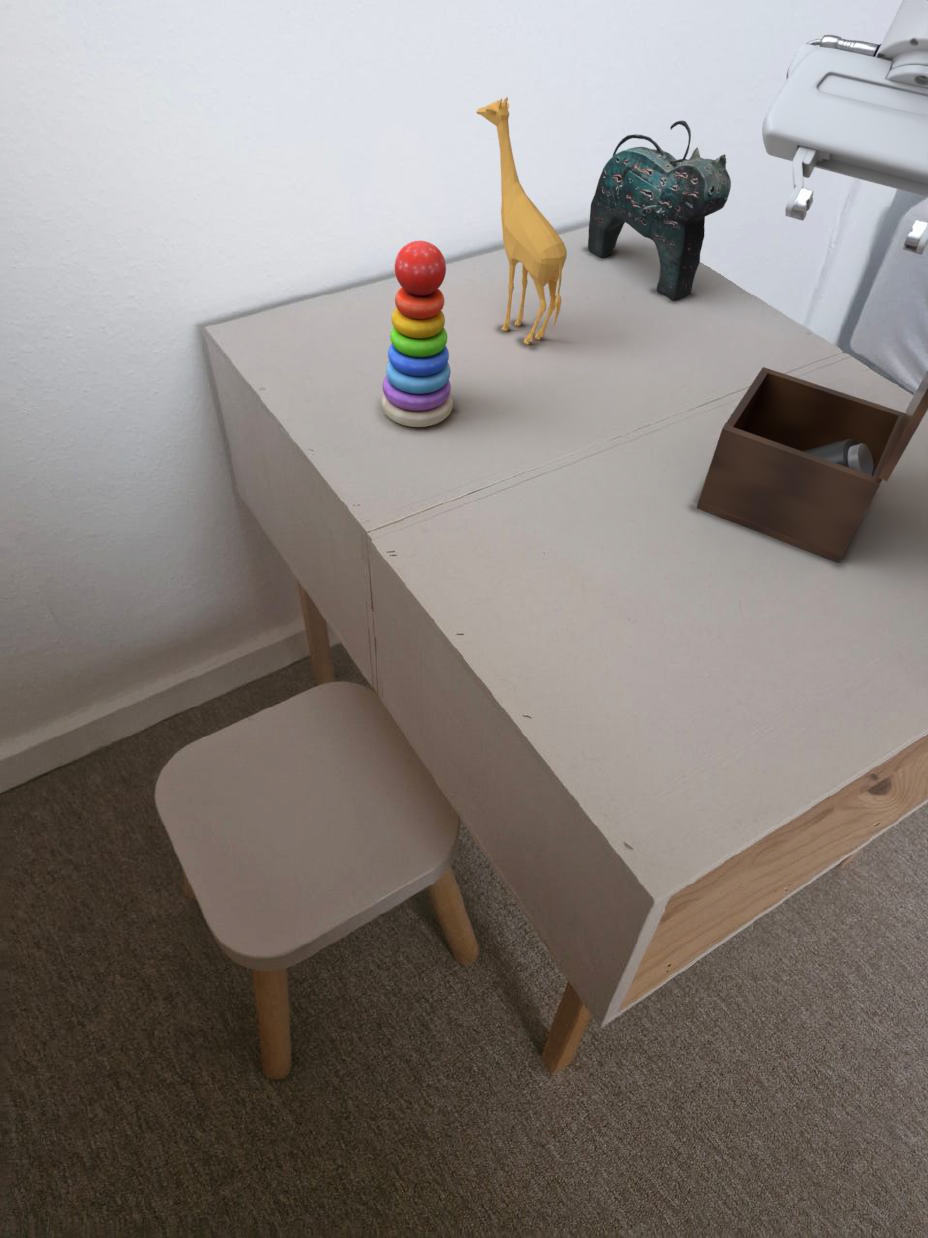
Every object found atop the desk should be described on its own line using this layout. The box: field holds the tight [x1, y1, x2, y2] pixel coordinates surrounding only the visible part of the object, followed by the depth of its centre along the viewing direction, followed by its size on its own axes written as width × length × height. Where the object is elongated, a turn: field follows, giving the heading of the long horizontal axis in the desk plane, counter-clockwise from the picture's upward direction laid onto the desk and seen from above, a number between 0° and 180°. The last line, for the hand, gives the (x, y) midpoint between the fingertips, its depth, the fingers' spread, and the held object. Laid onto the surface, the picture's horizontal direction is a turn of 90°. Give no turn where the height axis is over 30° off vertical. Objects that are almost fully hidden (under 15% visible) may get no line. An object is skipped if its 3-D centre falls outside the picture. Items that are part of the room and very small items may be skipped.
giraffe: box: [475, 96, 568, 346], centre depth 99 cm, size 16×4×25 cm, turn 39°
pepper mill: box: [803, 439, 873, 475], centre depth 82 cm, size 5×5×10 cm
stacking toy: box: [380, 240, 454, 428], centre depth 88 cm, size 8×8×19 cm
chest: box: [696, 366, 905, 563], centre depth 84 cm, size 15×13×10 cm
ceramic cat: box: [587, 120, 732, 301], centre depth 112 cm, size 20×6×20 cm, turn 37°
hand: (851, 231), depth 66 cm, fingers open, 8 cm apart
